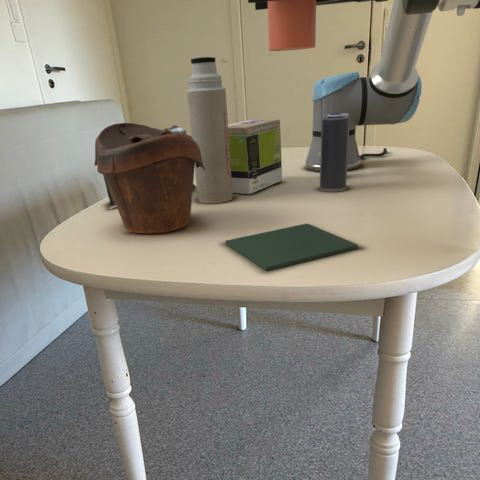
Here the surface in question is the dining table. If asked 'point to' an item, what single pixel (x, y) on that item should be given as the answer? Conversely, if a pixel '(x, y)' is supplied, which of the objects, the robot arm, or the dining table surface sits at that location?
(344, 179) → the dark grey cylinder
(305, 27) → the orange cylinder
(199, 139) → the thermos bottle
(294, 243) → the mat
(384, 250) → the dining table surface
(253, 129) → the tea box
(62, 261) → the dining table surface
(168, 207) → the brown tapered pot
